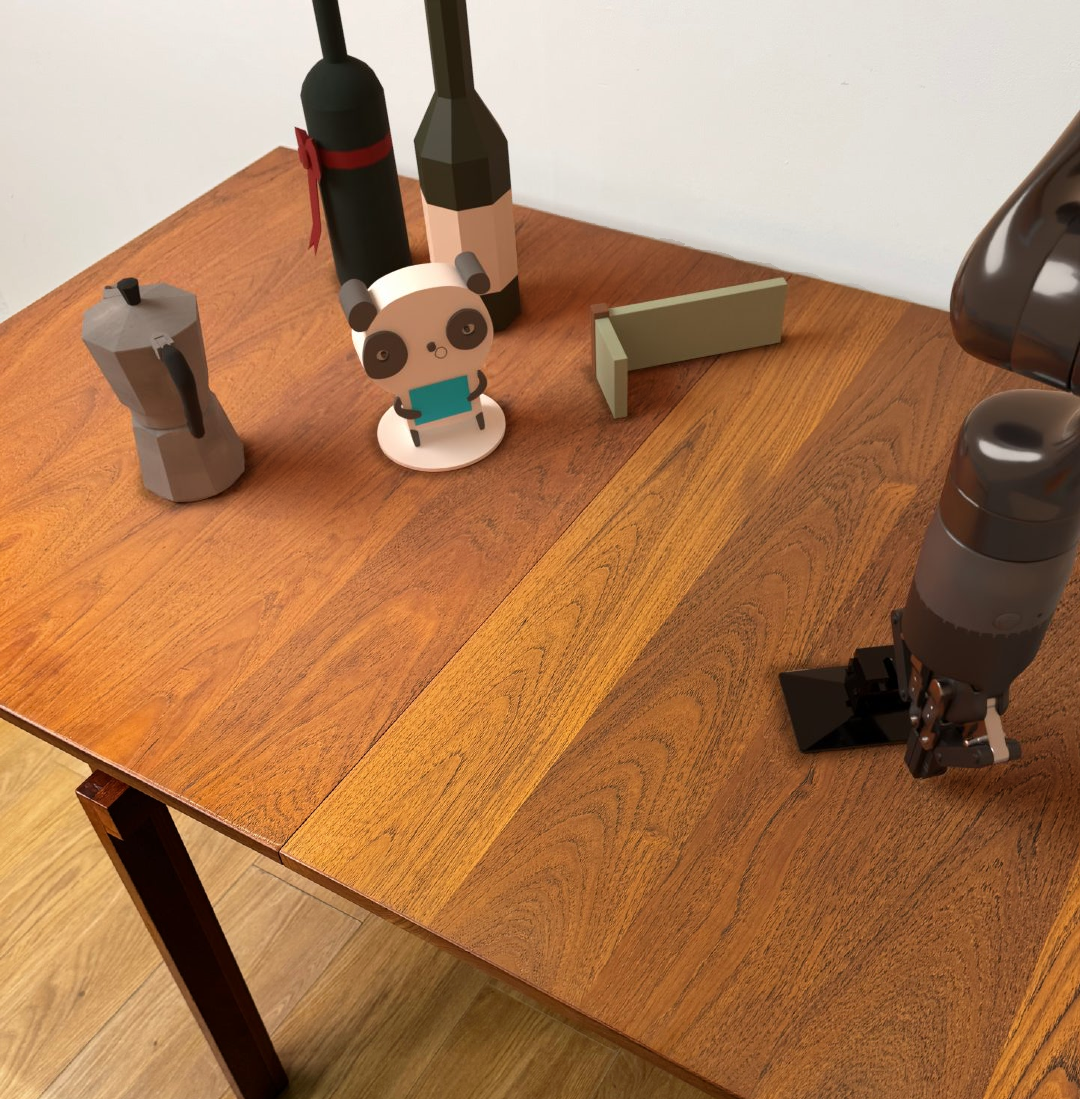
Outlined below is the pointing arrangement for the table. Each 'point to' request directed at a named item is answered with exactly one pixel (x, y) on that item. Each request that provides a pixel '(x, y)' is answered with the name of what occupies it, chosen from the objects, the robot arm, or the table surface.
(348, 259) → the wine bottle
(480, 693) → the table surface
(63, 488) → the table surface
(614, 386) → the corner rails
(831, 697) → the build plate
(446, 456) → the panda figurine
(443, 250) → the wine bottle
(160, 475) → the coffeepot
